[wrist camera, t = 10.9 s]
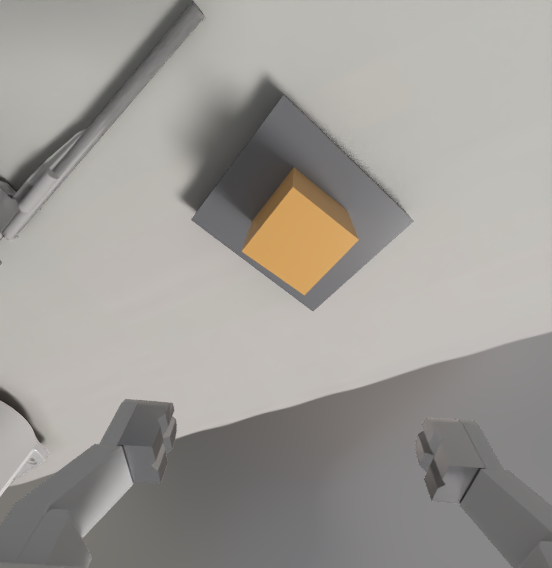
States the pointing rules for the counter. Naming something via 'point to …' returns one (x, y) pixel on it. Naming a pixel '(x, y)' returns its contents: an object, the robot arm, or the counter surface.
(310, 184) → the tan wooden cube
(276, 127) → the flat gray plate
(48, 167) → the caliper
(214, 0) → the counter surface
